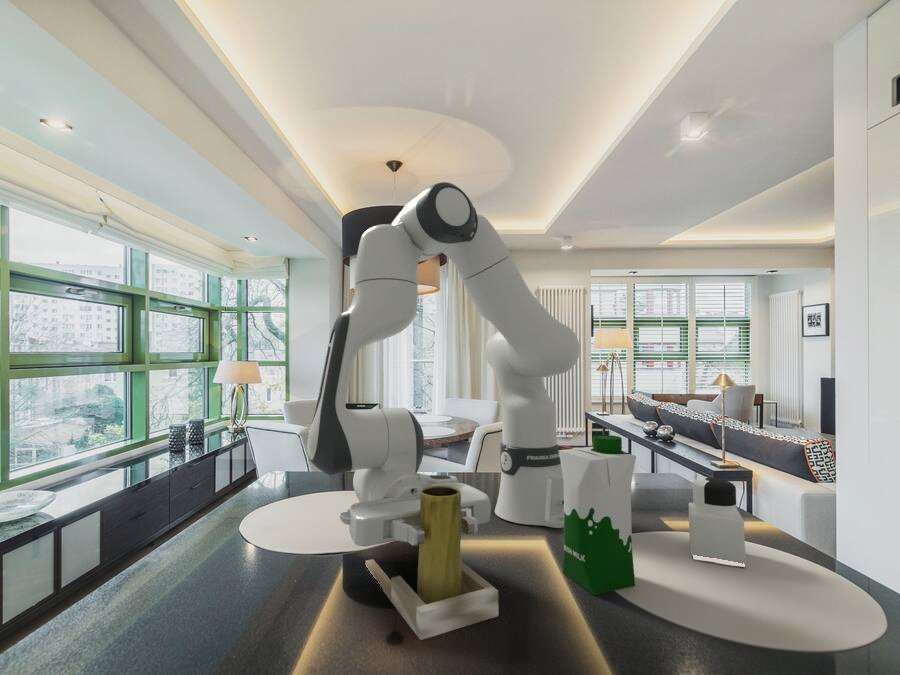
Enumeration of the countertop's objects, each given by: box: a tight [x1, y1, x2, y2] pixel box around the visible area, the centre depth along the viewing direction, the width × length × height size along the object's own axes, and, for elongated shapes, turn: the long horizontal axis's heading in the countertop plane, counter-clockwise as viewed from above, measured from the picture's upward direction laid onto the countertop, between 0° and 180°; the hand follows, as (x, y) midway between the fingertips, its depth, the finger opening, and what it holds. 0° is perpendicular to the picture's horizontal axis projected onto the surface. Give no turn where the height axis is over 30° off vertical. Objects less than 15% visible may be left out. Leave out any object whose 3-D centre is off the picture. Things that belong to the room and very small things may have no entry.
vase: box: [416, 485, 463, 605], centre depth 58 cm, size 6×6×14 cm
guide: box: [364, 558, 499, 641], centre depth 61 cm, size 10×20×3 cm, turn 28°
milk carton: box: [559, 434, 637, 596], centre depth 65 cm, size 9×9×20 cm
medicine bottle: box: [688, 476, 746, 564], centre depth 73 cm, size 7×7×12 cm
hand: (446, 532), depth 56 cm, fingers open, 6 cm apart
